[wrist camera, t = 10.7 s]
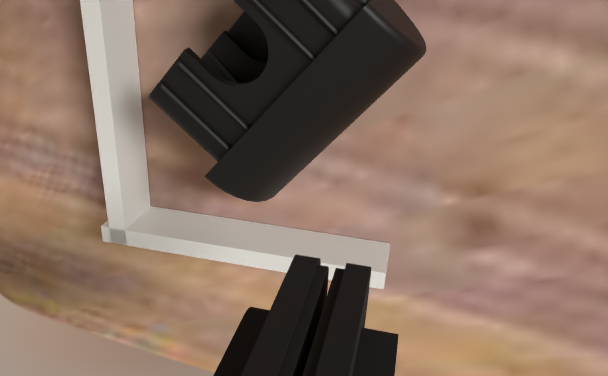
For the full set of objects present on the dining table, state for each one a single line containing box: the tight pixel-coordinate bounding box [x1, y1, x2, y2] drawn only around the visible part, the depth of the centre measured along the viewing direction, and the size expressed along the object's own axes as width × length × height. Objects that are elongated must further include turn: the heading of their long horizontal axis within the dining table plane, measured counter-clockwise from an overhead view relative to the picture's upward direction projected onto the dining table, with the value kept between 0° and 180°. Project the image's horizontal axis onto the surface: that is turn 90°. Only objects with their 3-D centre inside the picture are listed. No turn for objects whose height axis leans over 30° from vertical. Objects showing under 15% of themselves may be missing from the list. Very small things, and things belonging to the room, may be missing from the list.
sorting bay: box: [80, 0, 390, 289], centre depth 27 cm, size 18×16×3 cm
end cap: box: [149, 0, 426, 202], centre depth 24 cm, size 10×7×7 cm
